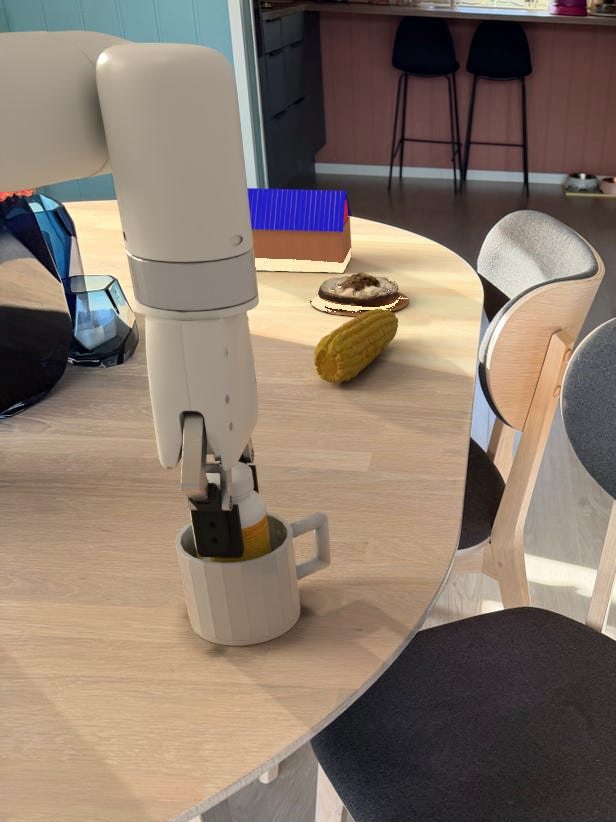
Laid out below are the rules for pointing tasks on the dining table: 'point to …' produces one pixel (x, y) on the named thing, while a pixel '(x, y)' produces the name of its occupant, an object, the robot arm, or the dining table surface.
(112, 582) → the dining table surface
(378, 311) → the food
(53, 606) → the dining table surface
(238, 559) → the supplement bottle
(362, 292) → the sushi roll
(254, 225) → the house
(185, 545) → the coffee mug
